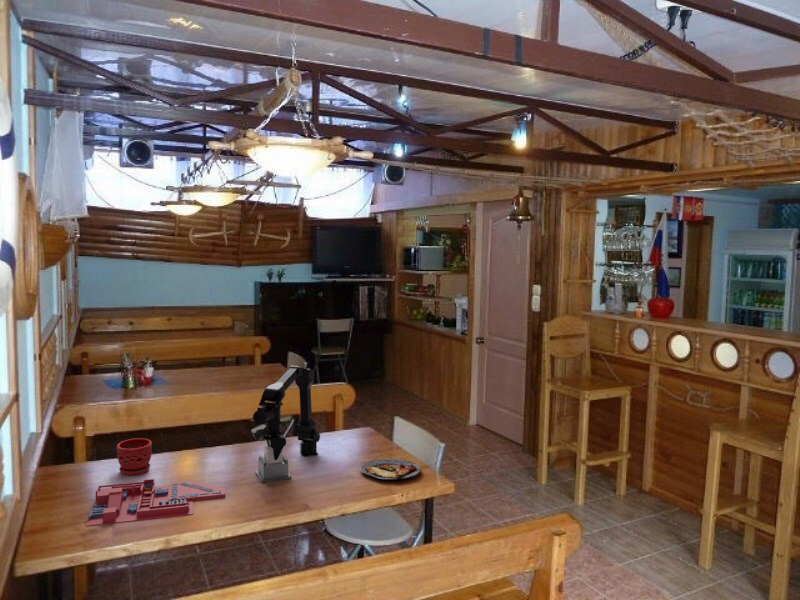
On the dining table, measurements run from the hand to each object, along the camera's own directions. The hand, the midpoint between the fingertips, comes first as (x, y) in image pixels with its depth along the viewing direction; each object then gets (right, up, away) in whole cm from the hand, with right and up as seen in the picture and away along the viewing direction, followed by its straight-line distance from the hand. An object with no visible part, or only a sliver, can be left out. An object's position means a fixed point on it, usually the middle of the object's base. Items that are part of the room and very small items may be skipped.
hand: (273, 456), depth 248 cm
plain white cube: (0, -2, 0) cm, 2 cm away
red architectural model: (-35, -10, -26) cm, 45 cm away
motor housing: (0, -8, +1) cm, 8 cm away
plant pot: (-57, -7, +2) cm, 57 cm away
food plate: (+47, -9, +7) cm, 49 cm away
